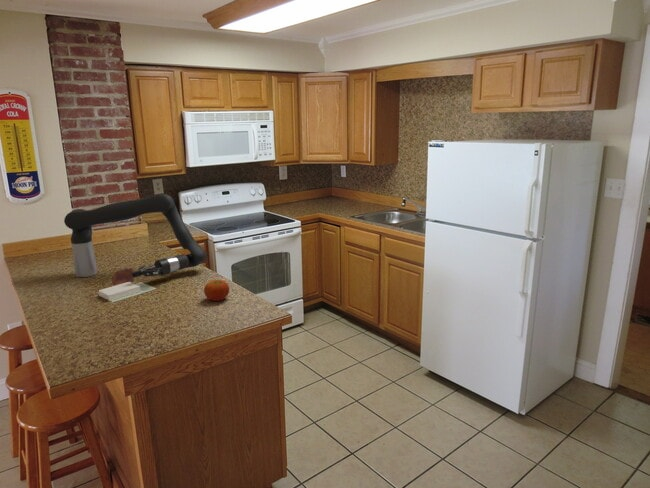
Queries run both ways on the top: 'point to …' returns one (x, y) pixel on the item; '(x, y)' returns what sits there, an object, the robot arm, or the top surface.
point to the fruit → (216, 290)
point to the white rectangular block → (119, 291)
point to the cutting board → (143, 289)
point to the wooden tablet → (123, 276)
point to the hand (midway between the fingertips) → (132, 275)
